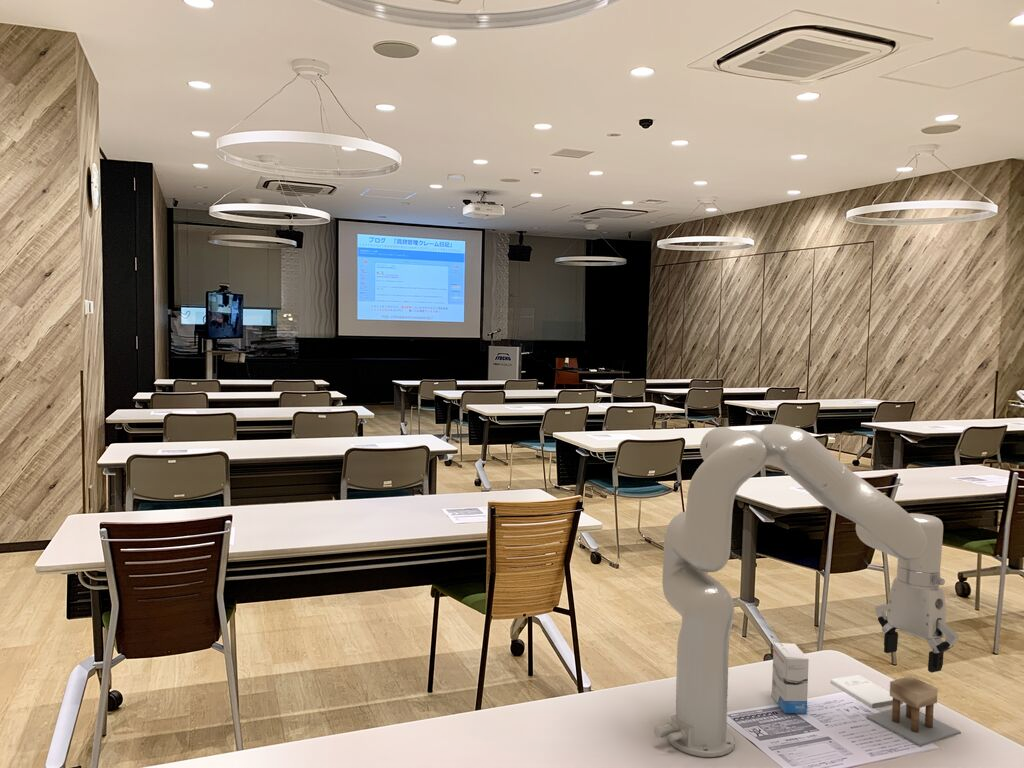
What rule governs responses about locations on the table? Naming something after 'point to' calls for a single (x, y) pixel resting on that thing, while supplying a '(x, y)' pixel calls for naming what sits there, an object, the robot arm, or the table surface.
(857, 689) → the external hard drive
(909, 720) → the mat
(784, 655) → the ink box
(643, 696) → the table surface
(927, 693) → the stool
